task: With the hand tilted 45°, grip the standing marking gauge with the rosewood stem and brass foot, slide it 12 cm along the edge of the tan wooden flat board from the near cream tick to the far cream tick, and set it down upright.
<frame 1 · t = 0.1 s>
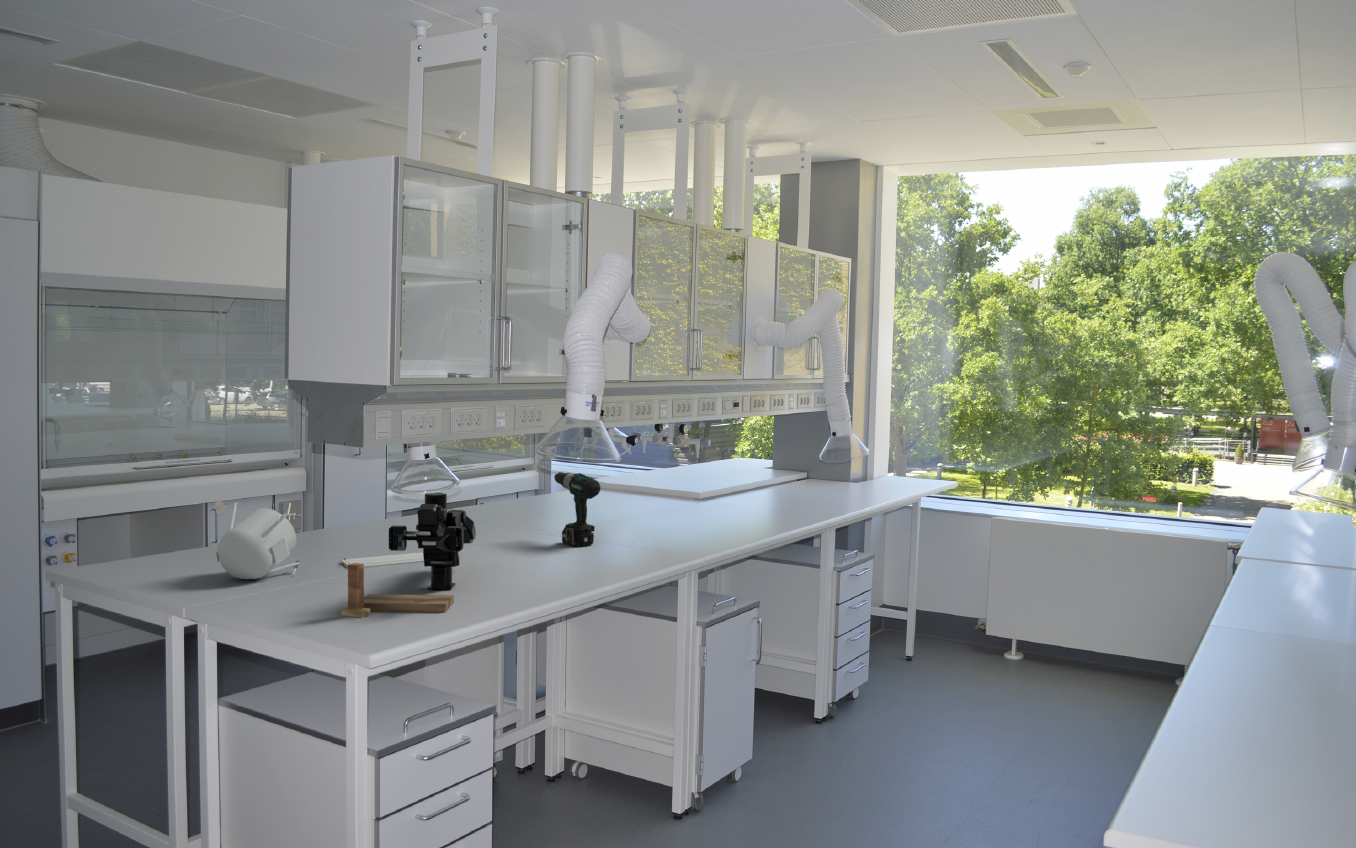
hand: (417, 544, 237), 17 cm above the table, tool horizontal, fingers open, 9 cm apart
satellite: (259, 578, 272), on the table
baseboard molding: (396, 563, 298), on the table
tan wooden flat board: (406, 606, 241), on the table
power drill: (573, 543, 334), on the table
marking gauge: (356, 614, 233), on the table
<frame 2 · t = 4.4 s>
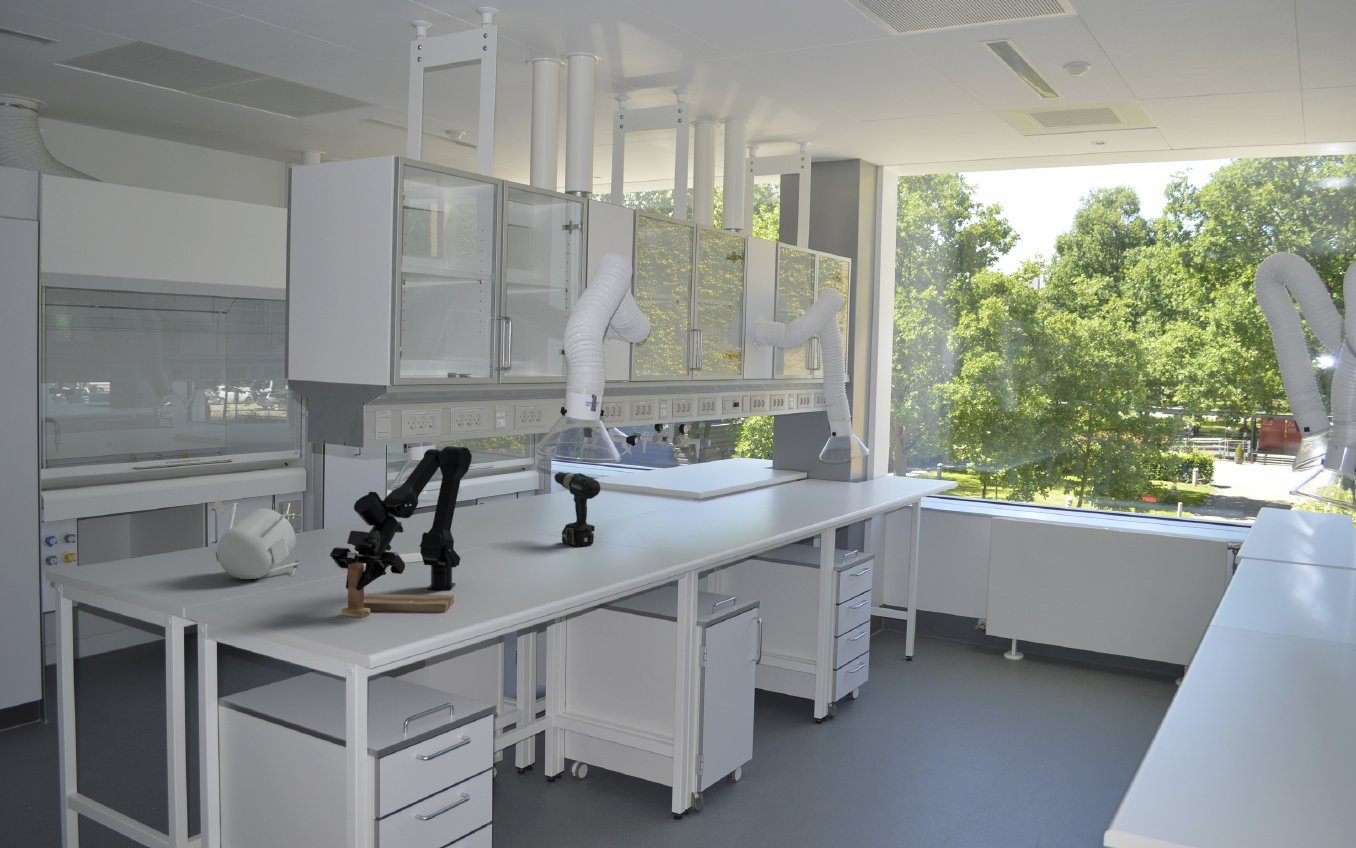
hand: (352, 589, 231), 7 cm above the table, tool tilted 45°, fingers closed on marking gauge, 3 cm apart
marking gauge: (355, 614, 233), on the table, touching gripper
everything else where it was.
when the fingers open (7 cm above the table, at t = 8.8 s): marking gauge stays where it is, on the table.
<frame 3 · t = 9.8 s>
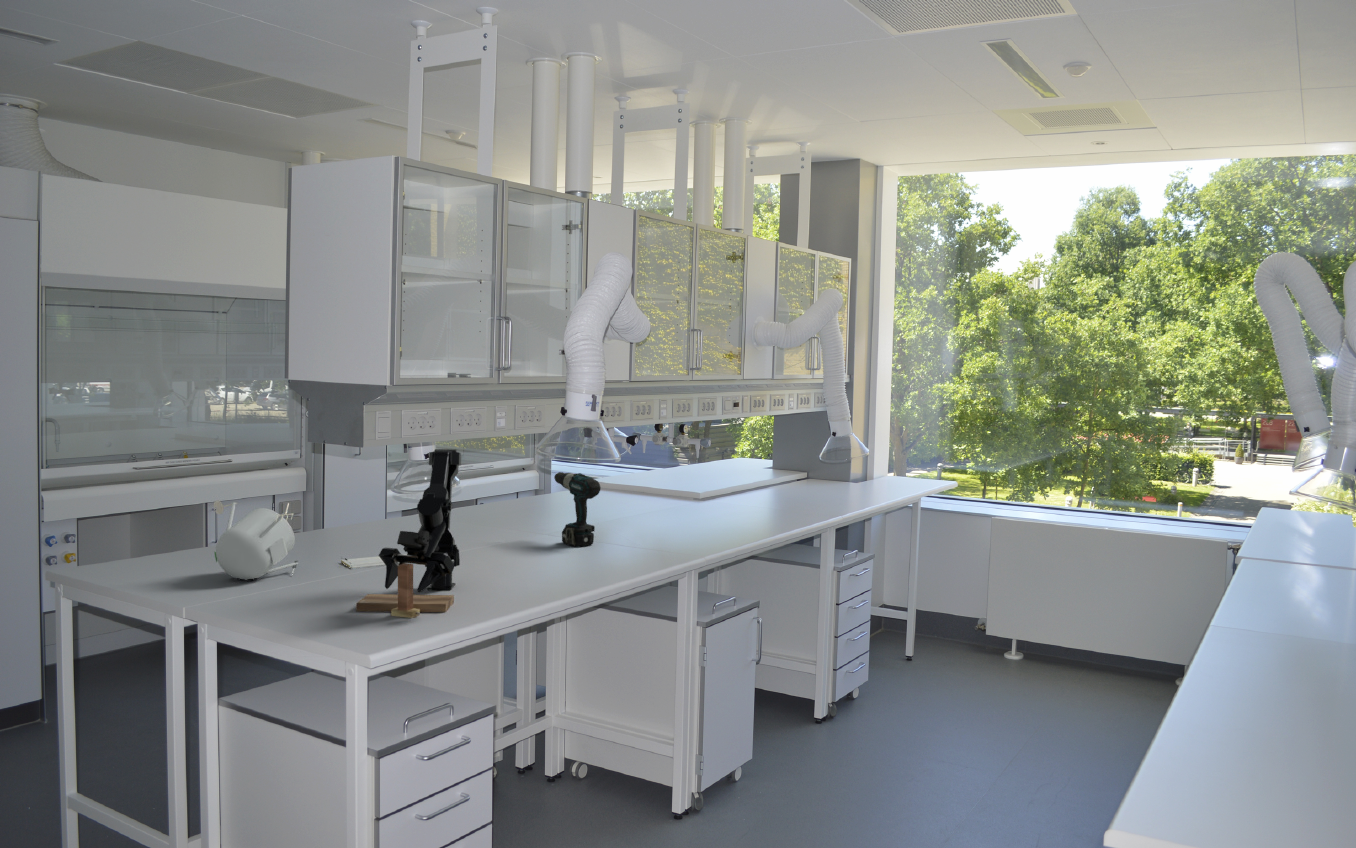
hand: (402, 589, 232), 7 cm above the table, tool tilted 45°, fingers open, 9 cm apart
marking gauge: (405, 615, 233), on the table
everything else where it was.
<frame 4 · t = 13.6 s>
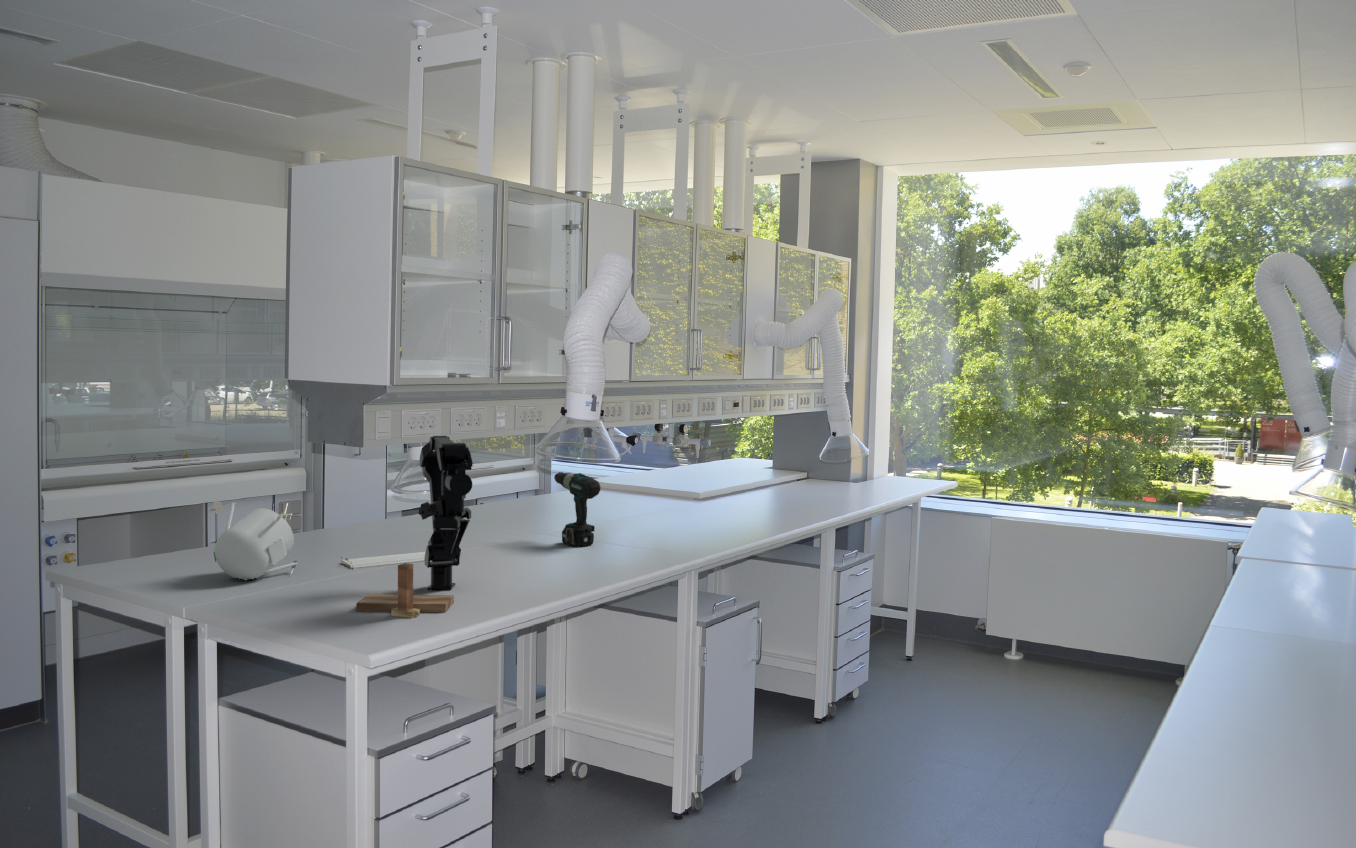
hand: (452, 550, 249), 13 cm above the table, tool pointing down, fingers open, 9 cm apart
nothing on the table moved.
at the end: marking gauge 0.4 cm from the target spot, on the table; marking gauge tilted 0°; the gripper is holding nothing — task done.
